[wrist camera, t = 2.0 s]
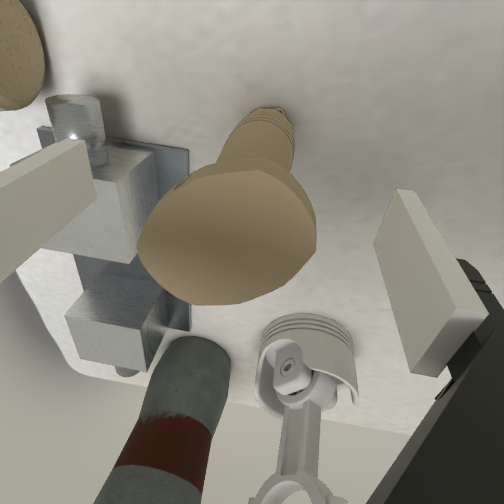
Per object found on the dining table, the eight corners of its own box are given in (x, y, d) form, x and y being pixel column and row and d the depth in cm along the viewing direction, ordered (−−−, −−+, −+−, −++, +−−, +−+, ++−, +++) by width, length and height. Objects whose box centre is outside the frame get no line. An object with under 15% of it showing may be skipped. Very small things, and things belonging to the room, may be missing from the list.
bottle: (157, 329, 38) (-101, 843, 14) (231, 336, 37) (83, 916, 13) (171, 375, 44) (2, 803, 20) (237, 383, 43) (139, 852, 19)
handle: (326, 132, 22) (341, 262, 10) (252, 177, 25) (198, 321, 13) (290, 66, 20) (258, 135, 8) (214, 124, 23) (110, 236, 11)
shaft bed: (187, 100, 23) (149, 126, 17) (191, 346, 39) (172, 397, 34) (27, 77, 23) (-56, 94, 18) (98, 328, 40) (65, 374, 35)
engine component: (371, 353, 35) (313, 299, 32) (421, 644, 19) (313, 595, 15) (294, 382, 41) (238, 339, 37) (282, 628, 24) (180, 590, 21)
